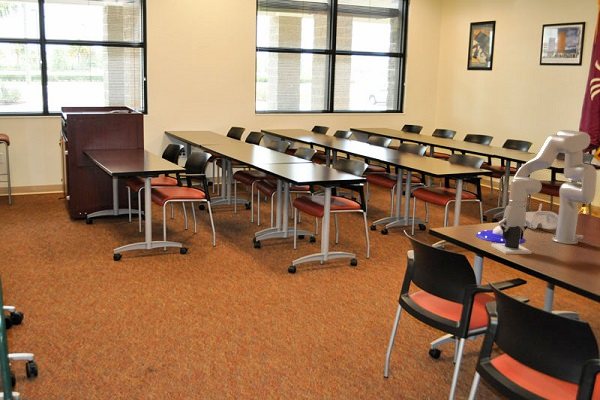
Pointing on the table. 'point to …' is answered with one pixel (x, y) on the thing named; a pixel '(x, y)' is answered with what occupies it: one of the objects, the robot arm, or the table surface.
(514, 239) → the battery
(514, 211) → the robot arm
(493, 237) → the toy spaceship
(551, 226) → the vr headset
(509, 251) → the plate
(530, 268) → the table surface
